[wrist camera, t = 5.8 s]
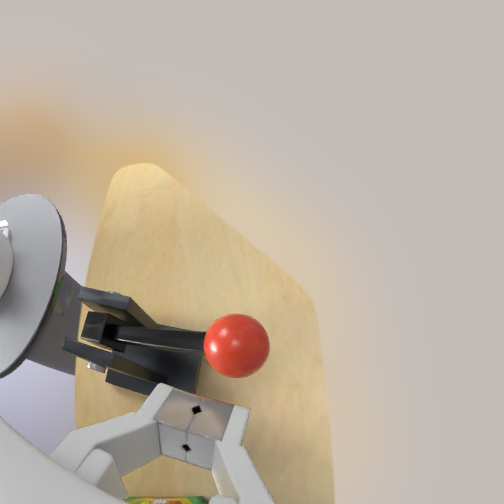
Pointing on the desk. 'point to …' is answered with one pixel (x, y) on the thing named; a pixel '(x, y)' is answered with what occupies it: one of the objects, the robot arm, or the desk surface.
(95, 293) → the bracket
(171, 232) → the desk surface
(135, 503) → the chalk box
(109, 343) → the lever
